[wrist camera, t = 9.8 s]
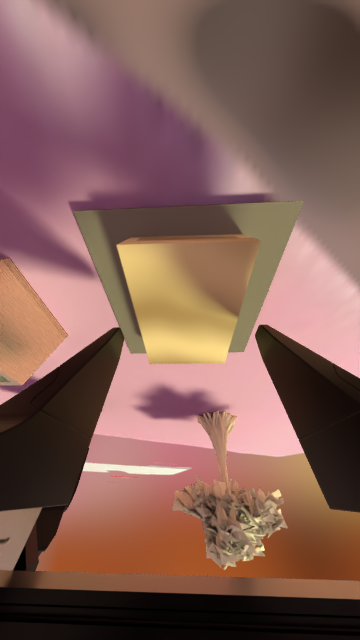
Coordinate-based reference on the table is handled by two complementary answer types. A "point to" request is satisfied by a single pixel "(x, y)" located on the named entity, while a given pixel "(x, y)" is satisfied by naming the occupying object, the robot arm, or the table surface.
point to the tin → (23, 327)
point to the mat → (245, 218)
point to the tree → (229, 505)
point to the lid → (188, 293)
